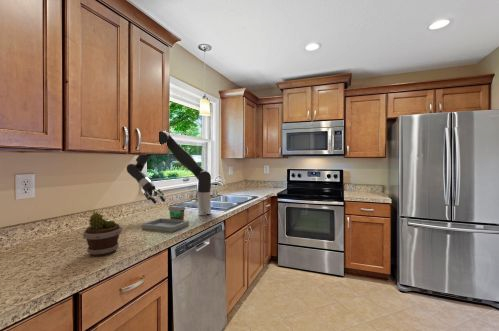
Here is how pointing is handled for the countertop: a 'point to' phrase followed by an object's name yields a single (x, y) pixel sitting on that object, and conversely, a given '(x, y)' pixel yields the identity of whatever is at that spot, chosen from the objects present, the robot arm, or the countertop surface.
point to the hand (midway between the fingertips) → (160, 202)
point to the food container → (176, 212)
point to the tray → (165, 225)
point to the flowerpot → (102, 235)
